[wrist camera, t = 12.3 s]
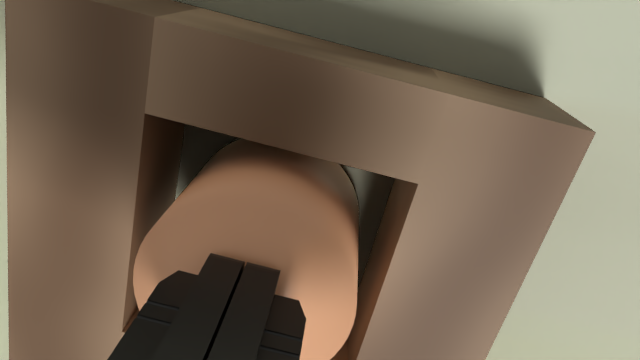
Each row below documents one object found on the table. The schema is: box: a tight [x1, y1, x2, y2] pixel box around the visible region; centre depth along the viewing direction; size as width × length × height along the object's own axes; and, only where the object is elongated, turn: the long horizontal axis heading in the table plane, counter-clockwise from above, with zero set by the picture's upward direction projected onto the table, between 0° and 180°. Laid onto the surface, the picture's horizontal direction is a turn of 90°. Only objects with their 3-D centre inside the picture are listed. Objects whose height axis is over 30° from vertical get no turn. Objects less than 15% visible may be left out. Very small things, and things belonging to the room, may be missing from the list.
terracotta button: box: [133, 139, 359, 360], centre depth 12 cm, size 5×5×4 cm
